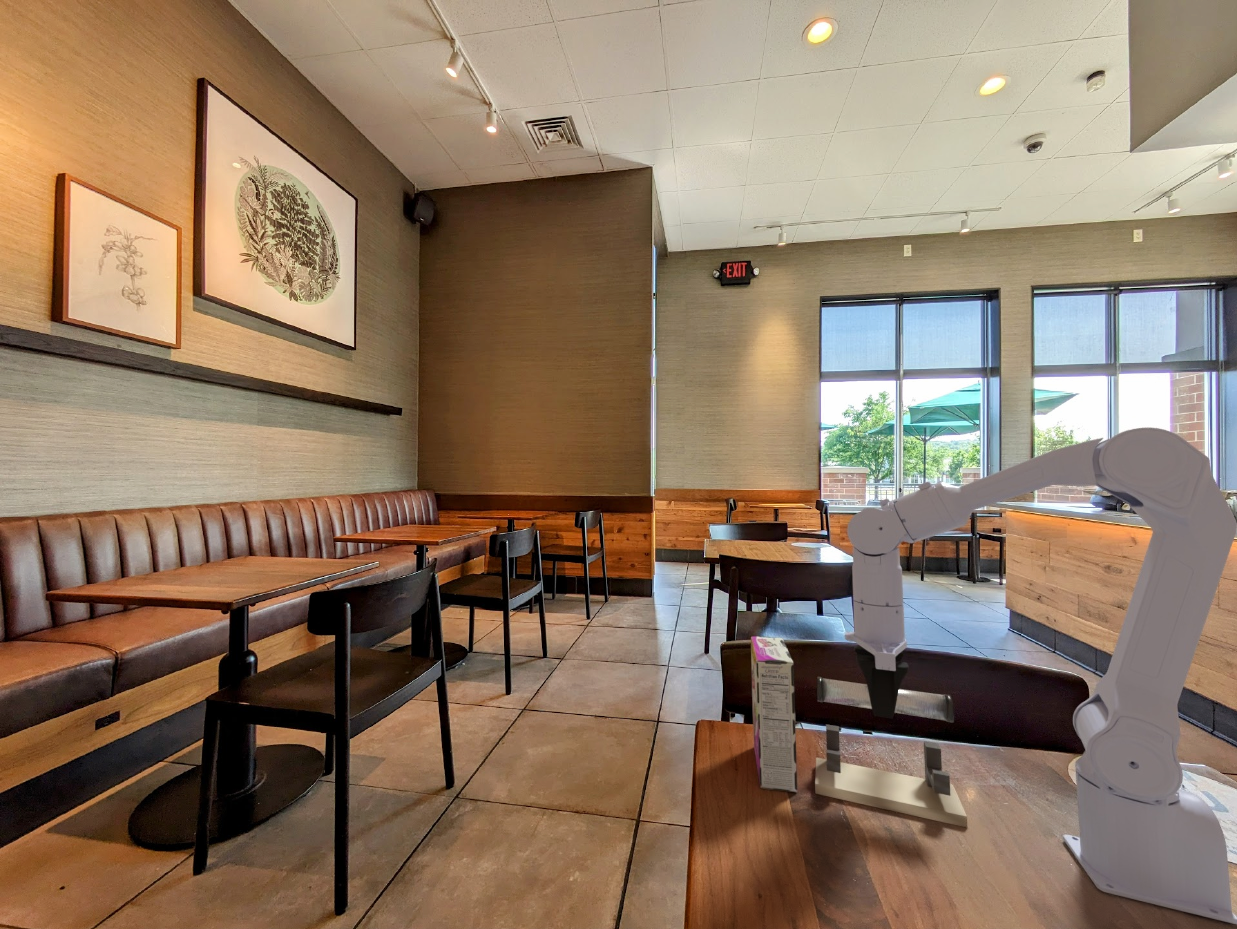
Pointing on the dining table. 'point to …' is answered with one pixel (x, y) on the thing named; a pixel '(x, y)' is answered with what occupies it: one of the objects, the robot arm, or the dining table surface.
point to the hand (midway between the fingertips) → (881, 710)
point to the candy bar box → (774, 714)
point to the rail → (905, 704)
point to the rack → (890, 785)
